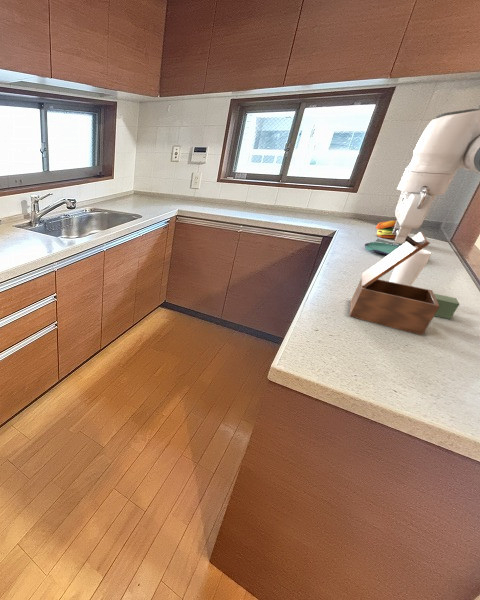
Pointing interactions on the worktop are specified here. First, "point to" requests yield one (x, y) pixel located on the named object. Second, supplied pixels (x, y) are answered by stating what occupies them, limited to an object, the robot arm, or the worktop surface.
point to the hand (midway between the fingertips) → (397, 238)
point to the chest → (394, 305)
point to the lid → (394, 258)
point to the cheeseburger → (386, 229)
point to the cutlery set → (382, 246)
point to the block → (446, 306)
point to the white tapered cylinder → (410, 268)
